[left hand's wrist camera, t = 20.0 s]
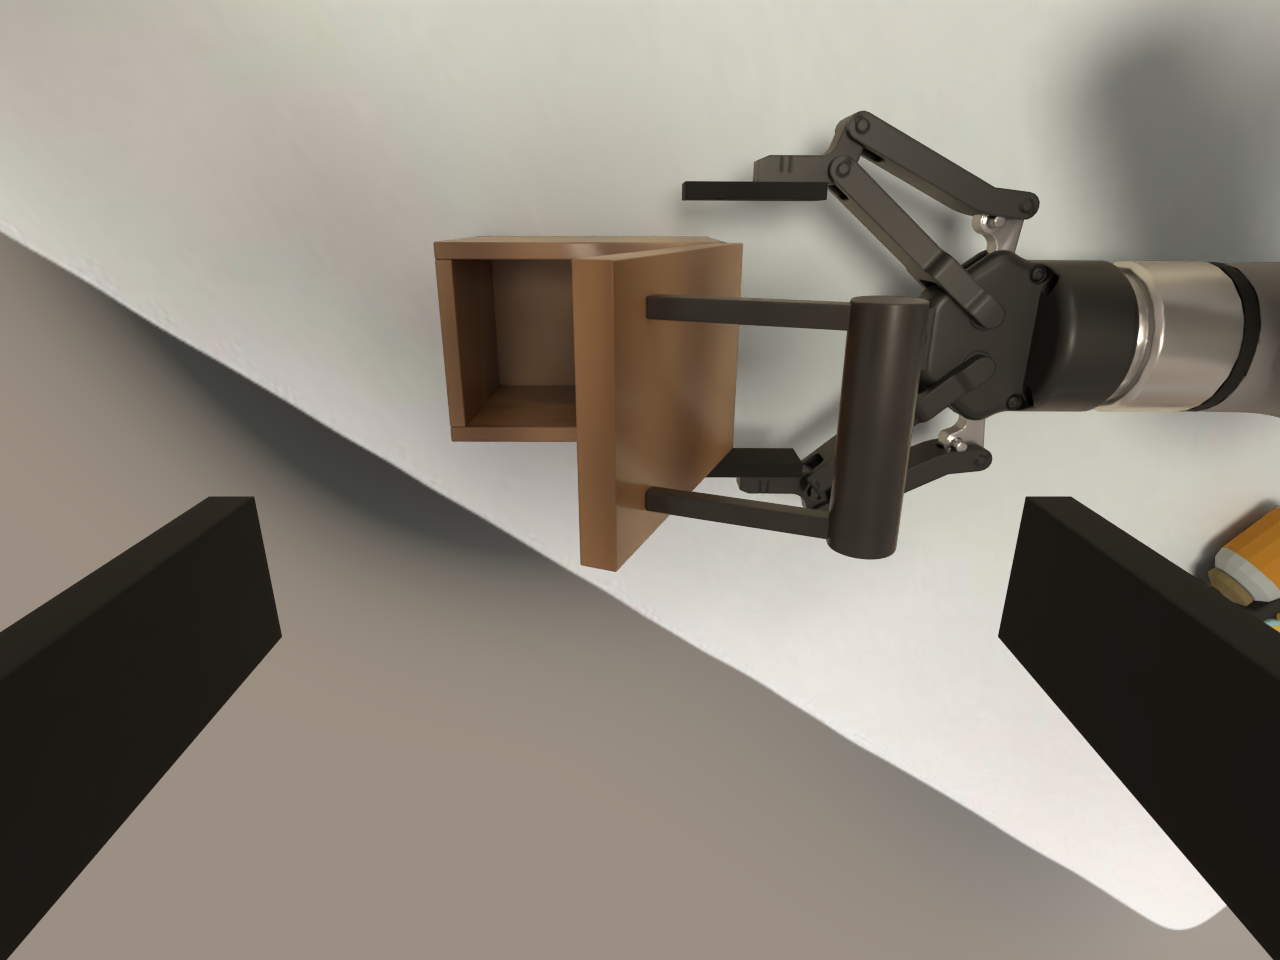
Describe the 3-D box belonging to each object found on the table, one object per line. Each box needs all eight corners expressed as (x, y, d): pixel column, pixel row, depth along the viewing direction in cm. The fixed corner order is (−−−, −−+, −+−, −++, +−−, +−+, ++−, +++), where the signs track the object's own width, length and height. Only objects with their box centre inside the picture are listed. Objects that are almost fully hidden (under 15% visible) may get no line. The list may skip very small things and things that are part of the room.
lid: (580, 565, 23) (884, 624, 20) (570, 258, 20) (933, 268, 16) (707, 445, 35) (909, 469, 32) (715, 242, 32) (940, 246, 28)
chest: (490, 394, 44) (451, 441, 35) (479, 236, 41) (433, 241, 32) (702, 395, 44) (718, 442, 35) (707, 236, 41) (727, 242, 32)
